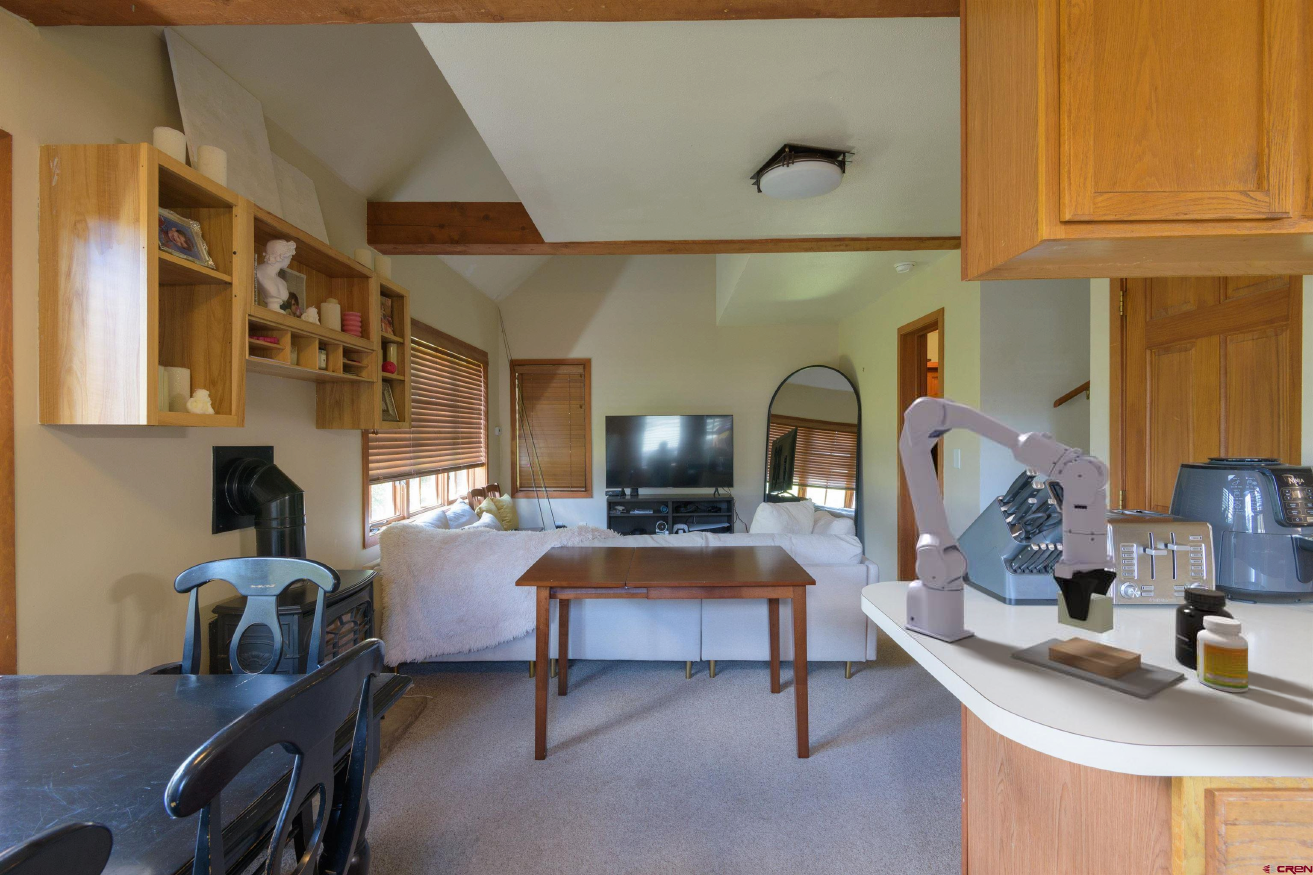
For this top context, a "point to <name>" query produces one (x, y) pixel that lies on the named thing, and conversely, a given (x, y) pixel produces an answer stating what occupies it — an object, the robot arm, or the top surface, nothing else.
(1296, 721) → the top surface
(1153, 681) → the grey mat
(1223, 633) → the supplement bottle
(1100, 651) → the walnut base brick
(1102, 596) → the sage brick
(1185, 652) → the supplement bottle
